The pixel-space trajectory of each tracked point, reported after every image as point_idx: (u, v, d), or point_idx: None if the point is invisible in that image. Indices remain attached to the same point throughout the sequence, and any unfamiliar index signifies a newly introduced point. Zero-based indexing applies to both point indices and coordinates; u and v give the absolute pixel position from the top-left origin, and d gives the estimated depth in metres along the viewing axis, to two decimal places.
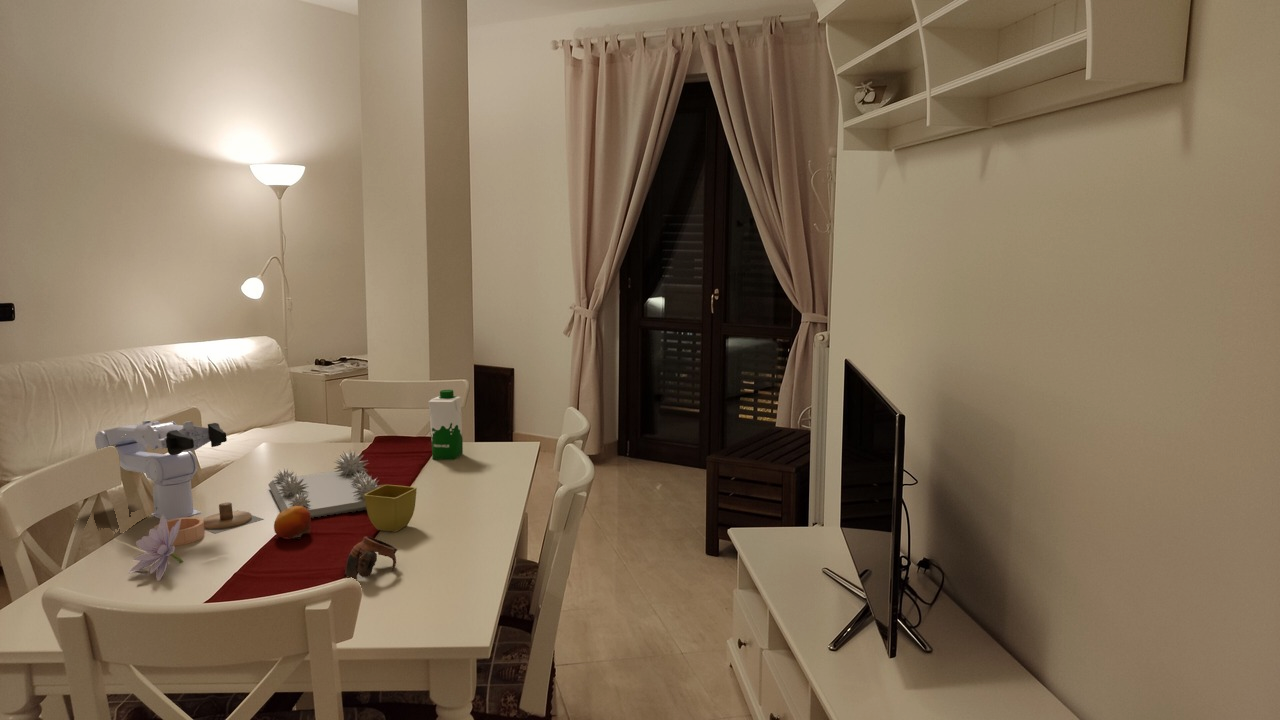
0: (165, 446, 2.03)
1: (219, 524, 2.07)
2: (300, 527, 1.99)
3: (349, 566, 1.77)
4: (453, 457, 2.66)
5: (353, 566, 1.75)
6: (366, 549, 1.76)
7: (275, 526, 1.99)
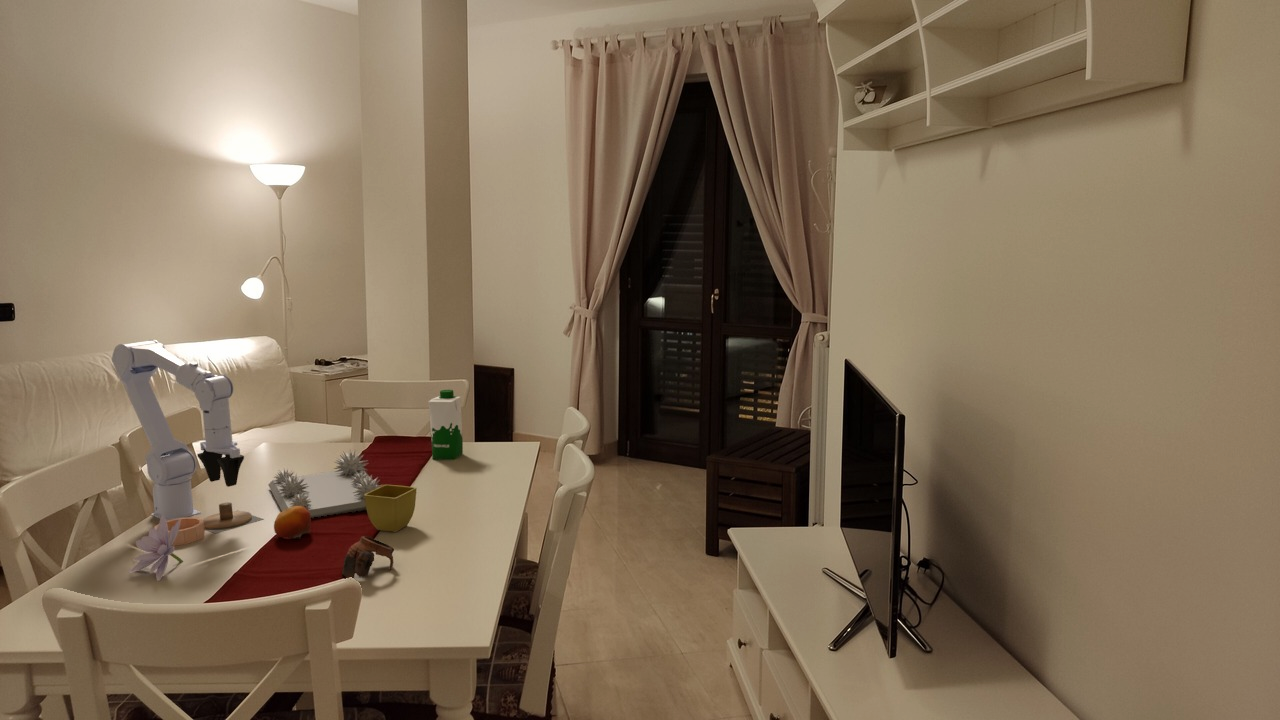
0: None
1: (219, 524, 2.07)
2: (300, 527, 1.99)
3: (346, 566, 1.77)
4: (453, 457, 2.66)
5: (351, 566, 1.76)
6: (363, 549, 1.76)
7: (275, 526, 1.99)
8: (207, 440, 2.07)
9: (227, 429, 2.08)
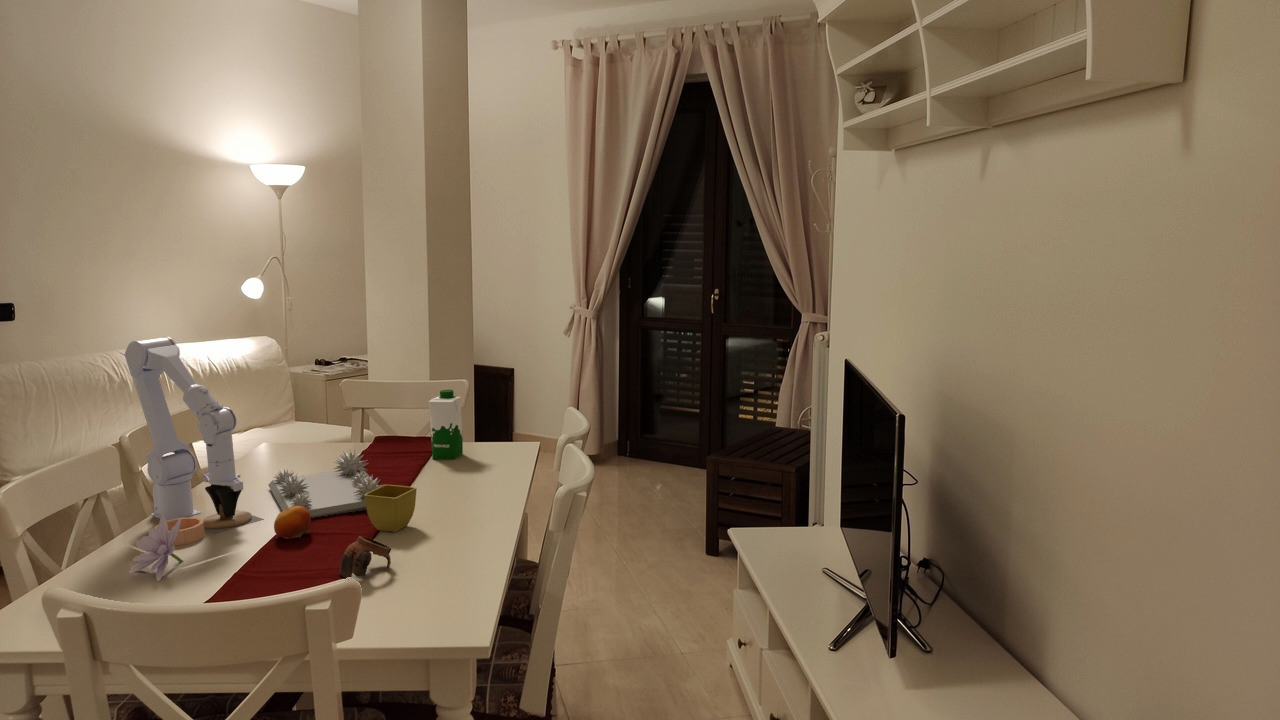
0: None
1: (219, 524, 2.07)
2: (300, 527, 1.99)
3: (343, 566, 1.77)
4: (453, 457, 2.66)
5: (348, 566, 1.76)
6: (361, 549, 1.76)
7: (275, 526, 1.99)
8: (210, 472, 2.08)
9: (230, 462, 2.09)
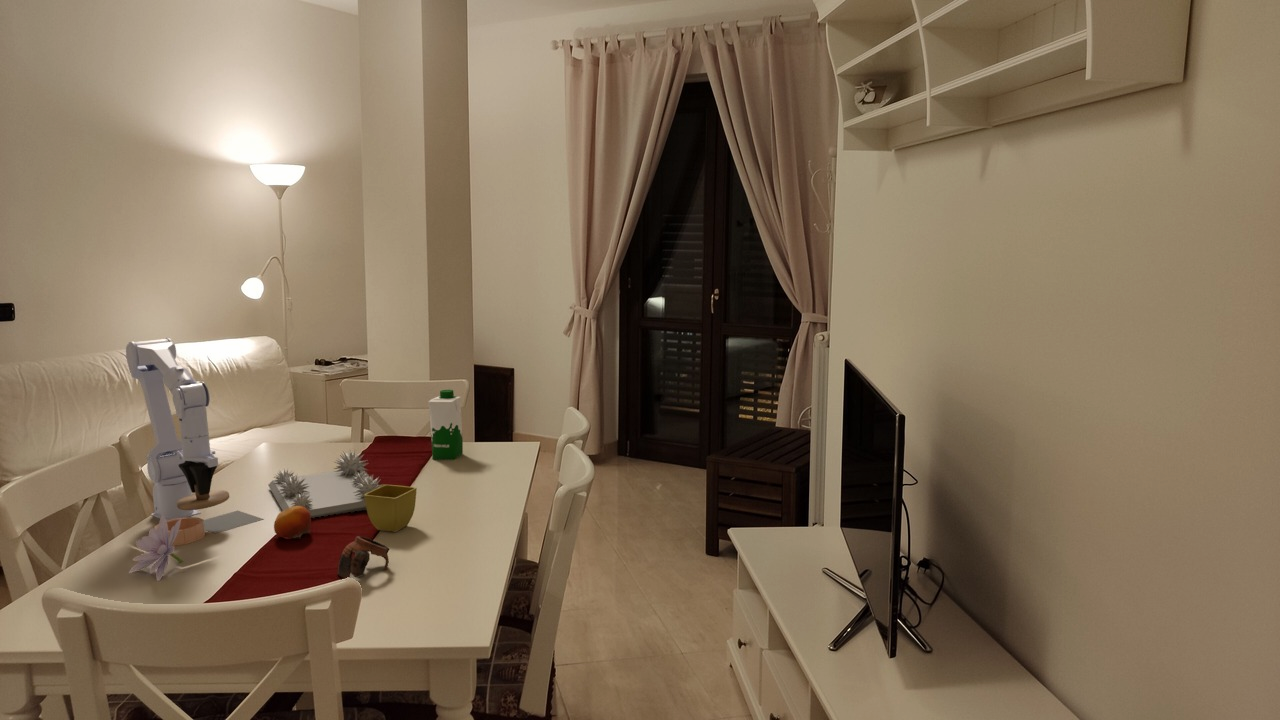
0: None
1: (196, 504, 2.02)
2: (300, 527, 1.99)
3: (342, 566, 1.77)
4: (453, 457, 2.66)
5: (346, 566, 1.76)
6: (359, 549, 1.76)
7: (275, 526, 1.99)
8: (183, 448, 2.01)
9: (205, 437, 2.03)
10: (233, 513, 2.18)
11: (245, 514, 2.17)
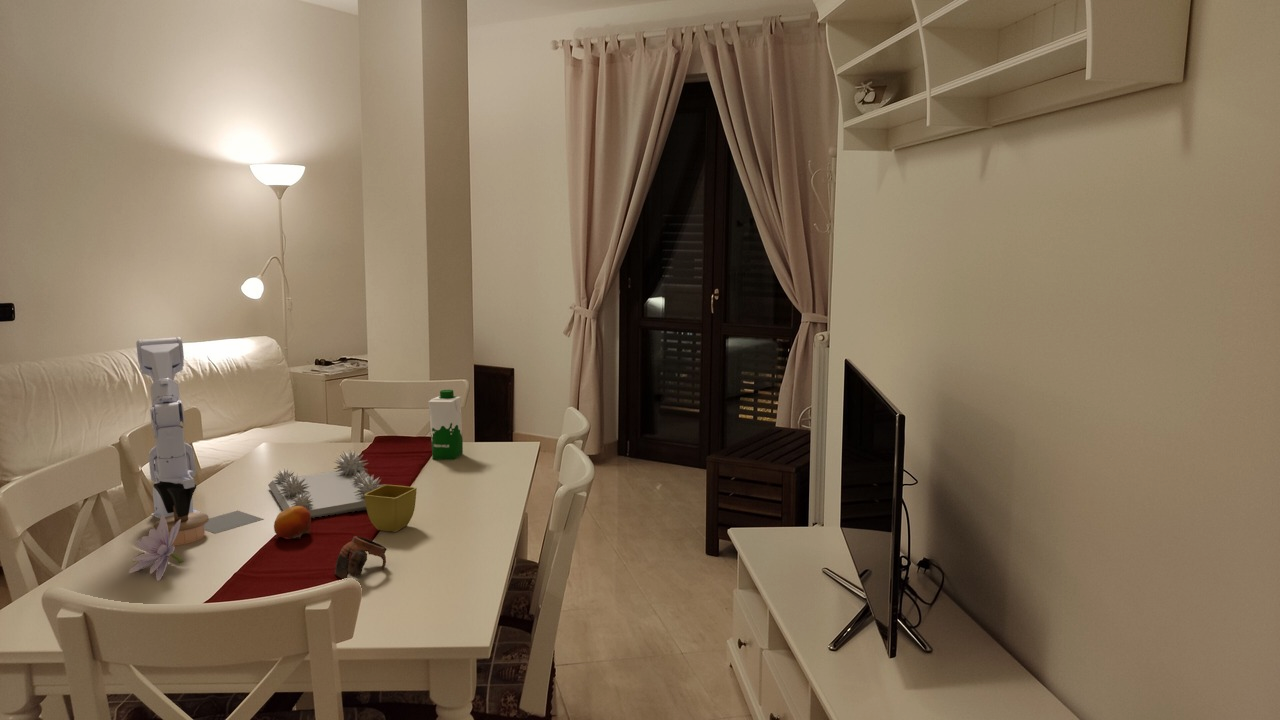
0: None
1: None
2: (300, 527, 1.99)
3: (339, 566, 1.77)
4: (453, 457, 2.66)
5: (343, 566, 1.76)
6: (356, 549, 1.77)
7: (275, 526, 1.99)
8: (159, 469, 1.97)
9: (181, 458, 1.98)
10: (233, 513, 2.18)
11: (245, 514, 2.17)
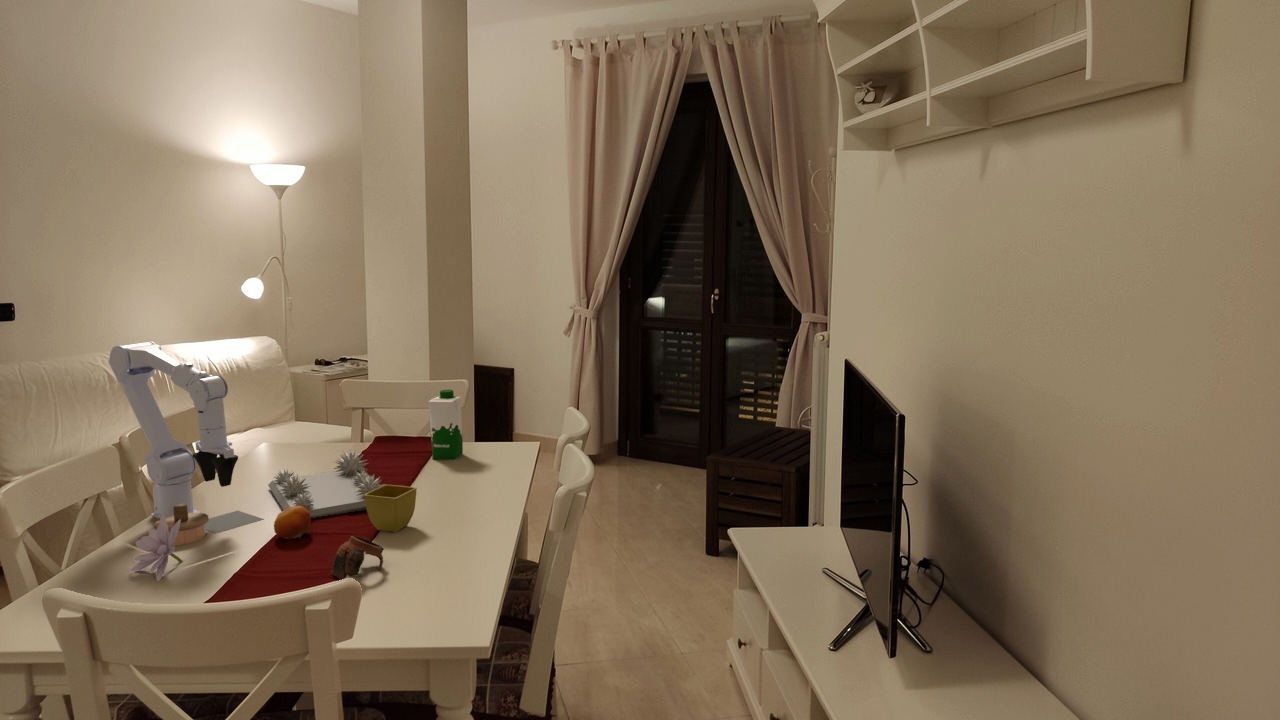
0: None
1: None
2: (300, 527, 1.99)
3: (336, 566, 1.77)
4: (453, 457, 2.66)
5: (340, 566, 1.76)
6: (353, 548, 1.77)
7: (275, 526, 1.99)
8: (201, 440, 2.07)
9: (221, 429, 2.08)
10: (233, 513, 2.18)
11: (245, 514, 2.17)
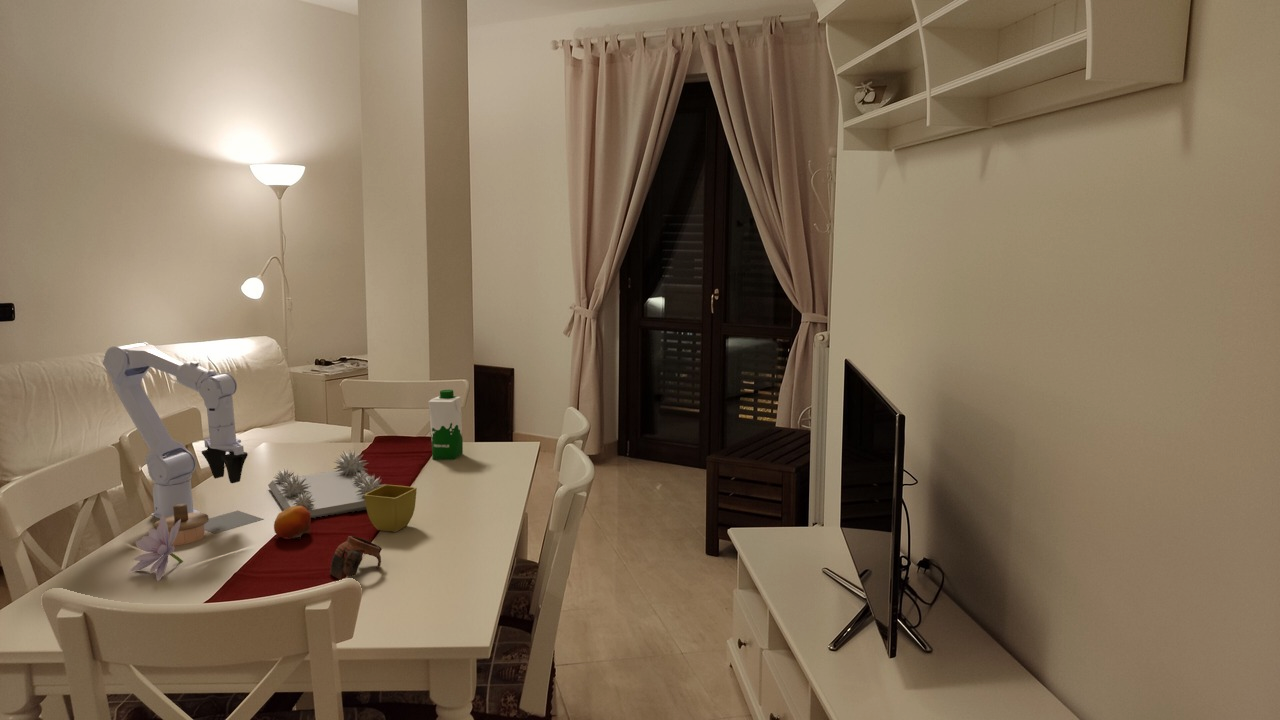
0: None
1: None
2: (300, 527, 1.99)
3: (334, 566, 1.77)
4: (453, 457, 2.66)
5: (339, 566, 1.76)
6: (351, 548, 1.77)
7: (275, 526, 1.99)
8: (211, 437, 2.09)
9: (231, 426, 2.11)
10: (233, 513, 2.18)
11: (245, 514, 2.17)
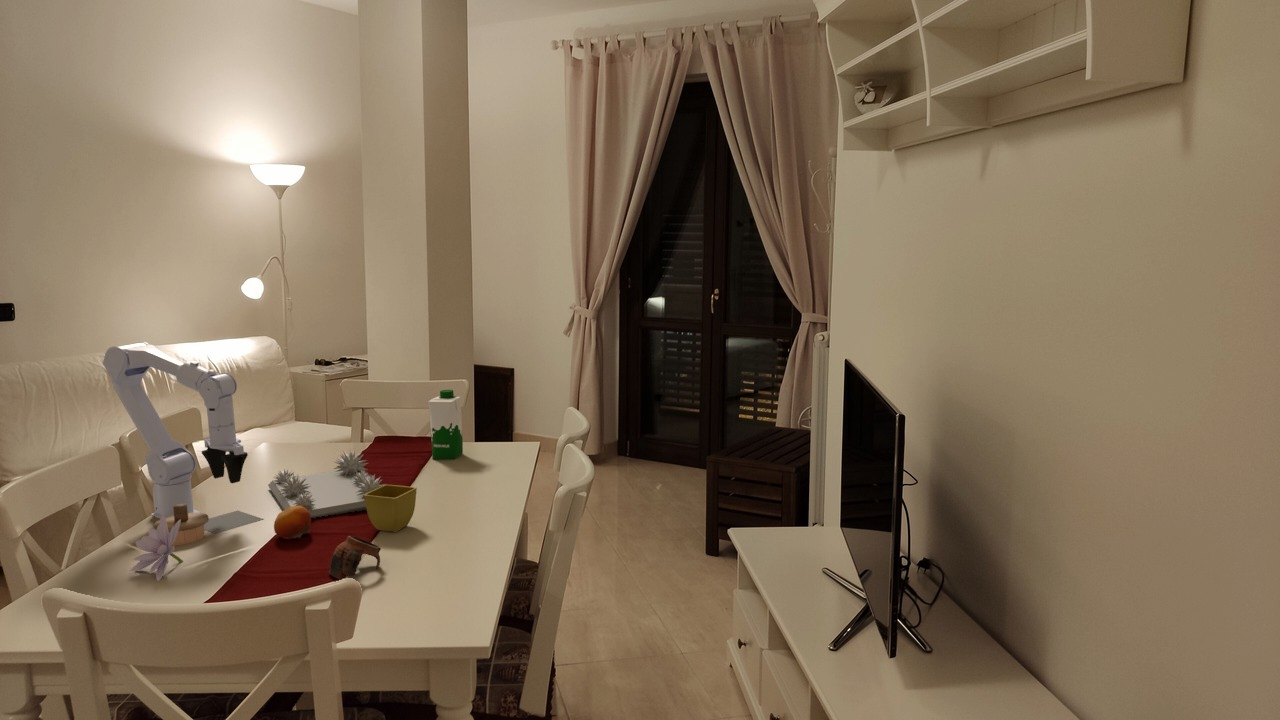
0: None
1: None
2: (300, 527, 1.99)
3: (333, 566, 1.77)
4: (453, 457, 2.66)
5: (338, 566, 1.76)
6: (350, 548, 1.77)
7: (275, 526, 1.99)
8: (211, 437, 2.09)
9: (231, 426, 2.11)
10: (233, 513, 2.18)
11: (245, 514, 2.17)
